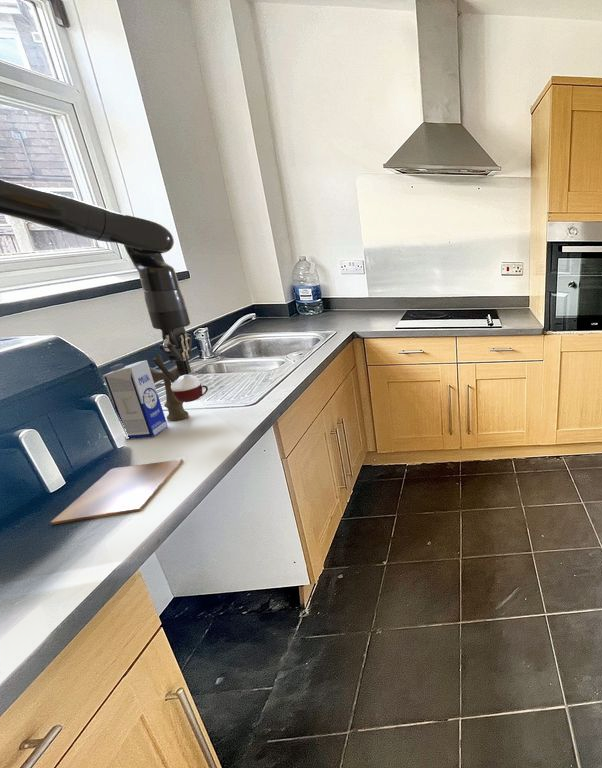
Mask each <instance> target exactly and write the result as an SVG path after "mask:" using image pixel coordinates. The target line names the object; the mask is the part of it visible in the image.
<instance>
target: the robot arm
mask: <svg viewBox="0 0 602 768" xmlns="http://www.w3.org/2000/svg"><path fill="white" fill-rule="evenodd" d="M0 214H1V215H5V216H10V217H12V218H15V219H20V220H24V221H27V222H30V223H34V224H38V225H41V226H45V227H48V228H51V229H55V230H57V231H62V232H65V233H69V234H71V235H72V234H73V235H75V236H80V237H82V238H83V237H84V238H86V239H91V240H95V241H99V242H103V243H104V242H105V243H113V244H115V243H116V244H120V245H123V246H124V249H125V251H126V254H127V256H129V258H130V260H131V262H132V264H133V266H134V267H135V269H136V271H137V272H138V276H139V279H140V280H139V281H140V283H141V287H142V290H143V294H144V302H145V306H146V308H147V312H148V316H149V318H150V323H151V327H152V328H153V329H155V330H160V331H161V337H162V338H161V339H162V341H163V343H161V344H159V345H158V347H159V350H160V351H161V352H162V353H163V354H164V356H165V357H166V358H167V359H168V361H169V362H174V363H175V366H176V365H177V369H178V373H179V375H190V373H192V369H191V365H190V361H189V359H190V356H191V355H192V345H193V343H192V341H193V336H192V334H191V333H187V331H186V327H188V326H190V324H191V320H190V318H189V312H188V309H187V306H186V302H185V298H184V295H183V293H182V291H181V288H180V283H179V279H178V276H177V273H176V270H175V268H174V267H173V266H171V265H170V264H168V263H166V261H165V259H164V257H163V255H162V254H165V253H167V252H169V251H170V250H172V248H173V247H174V243H175V239H174V236H173V234H172V232H171V231H169V229H168V228H166V227H165V226H163V225H162V224H160V223H158V222H155V221H153V220H152V221H151V220H148V219H144V218H141V217H137V216H132V215H127V214H124V213H119V212H115V211H111V210H109V209H106V208H103V207H101V206H97V205H94V204H92V203H88V202H86V201H81V200H79V199H75V198H72V197H69V196H65V195H61V194H57V193H53V192H50V191H46V190H41V189H37V188H33V187H29V186H24V185H22V184H17V183H14V182H10V181H7V180H4V179H0Z"/></svg>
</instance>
